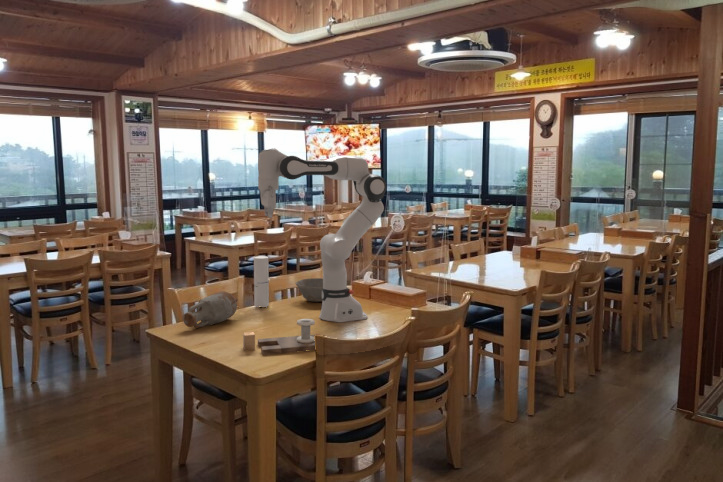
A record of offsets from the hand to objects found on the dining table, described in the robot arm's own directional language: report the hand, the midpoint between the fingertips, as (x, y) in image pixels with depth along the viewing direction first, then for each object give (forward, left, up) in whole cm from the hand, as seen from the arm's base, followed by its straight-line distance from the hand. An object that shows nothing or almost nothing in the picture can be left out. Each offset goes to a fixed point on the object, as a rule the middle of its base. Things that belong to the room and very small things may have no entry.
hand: (268, 216), depth 256 cm
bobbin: (-9, +38, -46) cm, 60 cm away
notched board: (-3, +38, -48) cm, 61 cm away
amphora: (+24, -5, -48) cm, 54 cm away
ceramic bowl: (-31, -35, -48) cm, 67 cm away
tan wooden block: (+13, +36, -48) cm, 61 cm away
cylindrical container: (-1, -30, -48) cm, 57 cm away
